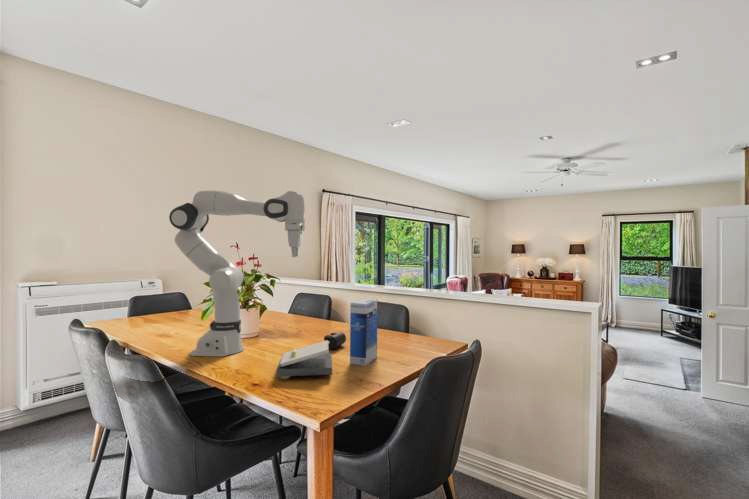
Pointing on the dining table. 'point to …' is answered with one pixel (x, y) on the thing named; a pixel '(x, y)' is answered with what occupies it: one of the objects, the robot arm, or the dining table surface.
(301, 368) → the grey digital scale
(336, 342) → the end cap
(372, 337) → the string lights box
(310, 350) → the level plate
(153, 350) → the dining table surface
